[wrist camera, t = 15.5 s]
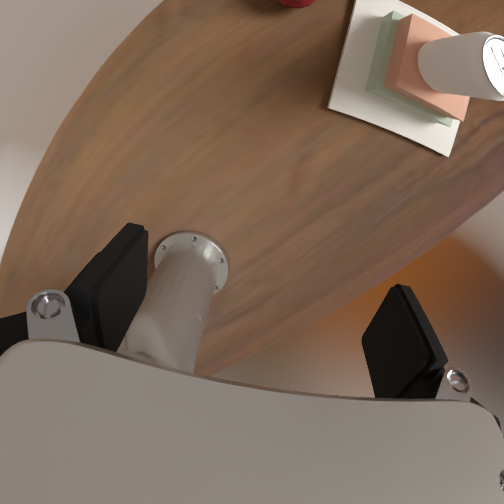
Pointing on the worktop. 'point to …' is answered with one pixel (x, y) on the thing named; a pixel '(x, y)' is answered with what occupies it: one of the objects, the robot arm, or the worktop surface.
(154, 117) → the worktop surface
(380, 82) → the tiered block pedestal
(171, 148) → the worktop surface
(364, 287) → the worktop surface
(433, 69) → the can
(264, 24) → the worktop surface
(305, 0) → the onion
